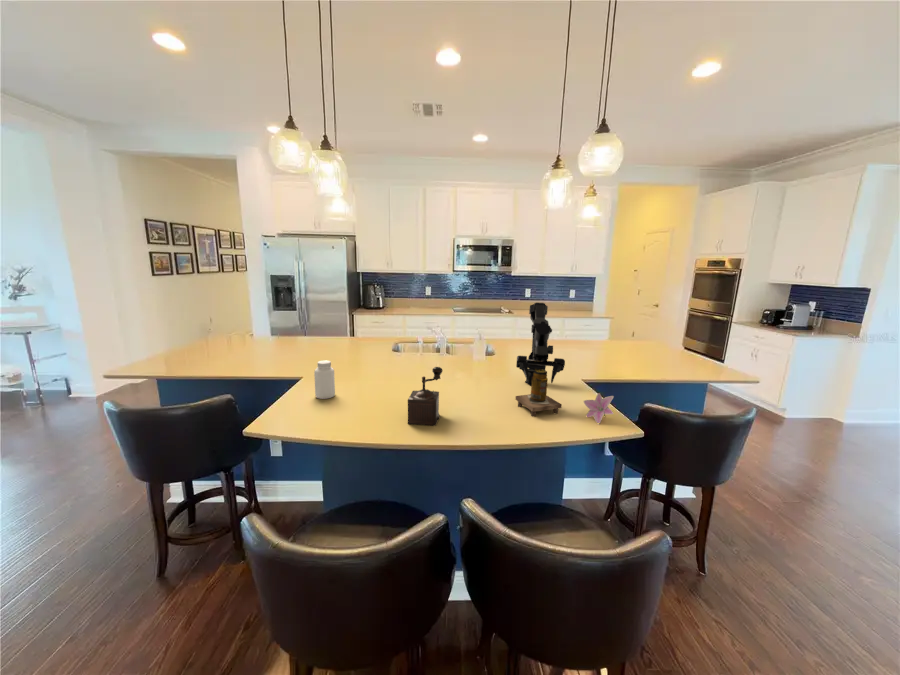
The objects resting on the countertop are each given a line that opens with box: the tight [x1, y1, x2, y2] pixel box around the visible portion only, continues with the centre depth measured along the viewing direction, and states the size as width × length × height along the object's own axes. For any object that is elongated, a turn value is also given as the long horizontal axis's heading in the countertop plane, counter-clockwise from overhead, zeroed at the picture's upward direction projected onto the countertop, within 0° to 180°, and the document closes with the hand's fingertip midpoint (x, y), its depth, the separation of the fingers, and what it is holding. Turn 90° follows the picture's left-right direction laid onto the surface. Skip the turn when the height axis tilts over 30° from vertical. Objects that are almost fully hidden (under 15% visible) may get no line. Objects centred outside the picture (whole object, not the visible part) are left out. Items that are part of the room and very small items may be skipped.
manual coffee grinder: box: [407, 366, 443, 427], centre depth 138 cm, size 16×11×18 cm
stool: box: [514, 393, 563, 418], centre depth 149 cm, size 13×13×4 cm
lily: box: [583, 392, 615, 424], centre depth 141 cm, size 12×12×10 cm
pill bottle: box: [313, 359, 336, 400], centre depth 156 cm, size 8×8×15 cm
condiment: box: [526, 369, 549, 404], centre depth 147 cm, size 7×8×12 cm
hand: (539, 381), depth 145 cm, fingers open, 9 cm apart
